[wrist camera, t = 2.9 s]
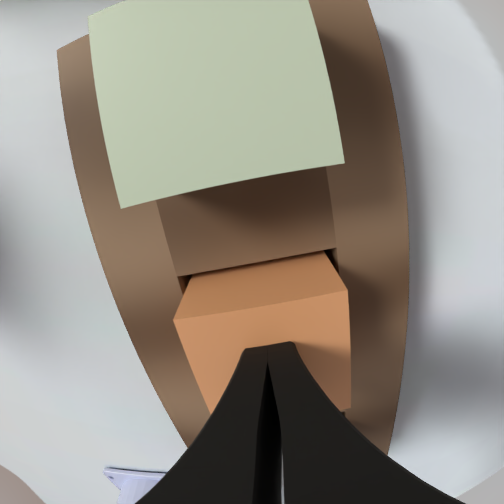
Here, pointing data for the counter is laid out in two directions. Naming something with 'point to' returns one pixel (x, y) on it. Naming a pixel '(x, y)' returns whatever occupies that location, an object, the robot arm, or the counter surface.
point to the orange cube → (268, 321)
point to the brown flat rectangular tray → (264, 226)
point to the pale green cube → (210, 93)
